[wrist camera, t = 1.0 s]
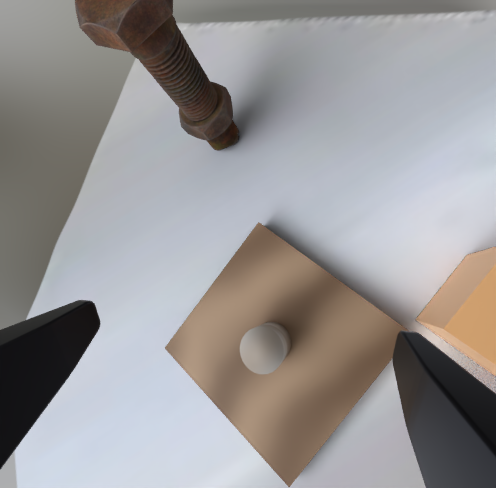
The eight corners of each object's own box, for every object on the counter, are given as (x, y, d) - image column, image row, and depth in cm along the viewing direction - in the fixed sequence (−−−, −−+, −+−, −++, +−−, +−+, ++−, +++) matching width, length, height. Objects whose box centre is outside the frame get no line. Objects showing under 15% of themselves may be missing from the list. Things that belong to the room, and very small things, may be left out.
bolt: (202, 120, 29) (78, -44, 15) (247, 108, 27) (155, -87, 13) (204, 169, 28) (70, 43, 14) (250, 160, 26) (154, 7, 12)
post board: (406, 330, 20) (428, 341, 15) (292, 474, 20) (279, 527, 16) (263, 226, 25) (246, 210, 20) (174, 345, 25) (137, 356, 21)
